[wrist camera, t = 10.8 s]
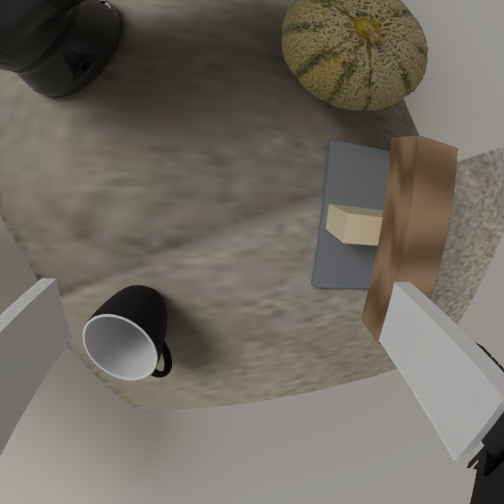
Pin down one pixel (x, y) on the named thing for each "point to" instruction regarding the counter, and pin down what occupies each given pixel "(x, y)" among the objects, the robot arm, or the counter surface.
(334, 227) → the fulcrum
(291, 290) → the counter surface
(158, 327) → the mug
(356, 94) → the cantaloupe
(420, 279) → the beam
